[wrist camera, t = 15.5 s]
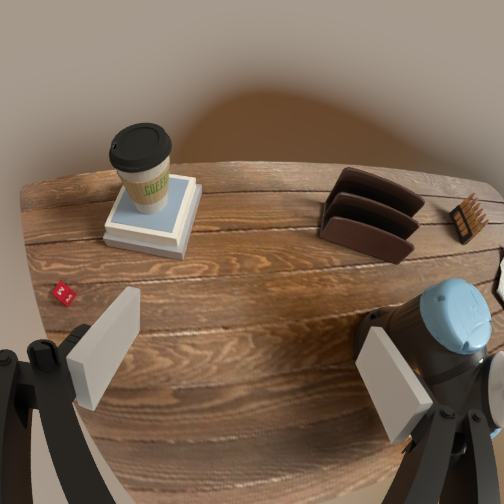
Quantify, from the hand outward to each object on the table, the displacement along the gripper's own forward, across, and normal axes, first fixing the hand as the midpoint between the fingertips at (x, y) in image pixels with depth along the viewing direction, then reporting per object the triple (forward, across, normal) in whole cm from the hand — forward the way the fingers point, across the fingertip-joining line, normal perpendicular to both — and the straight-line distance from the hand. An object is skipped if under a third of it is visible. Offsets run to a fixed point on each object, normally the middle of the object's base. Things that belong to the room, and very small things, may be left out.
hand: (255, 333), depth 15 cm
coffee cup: (+38, -19, -1) cm, 43 cm away
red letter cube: (+29, -32, -19) cm, 47 cm away
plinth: (+43, -19, -5) cm, 47 cm away
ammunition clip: (+54, +60, +6) cm, 81 cm away
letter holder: (+47, +25, -1) cm, 53 cm away
